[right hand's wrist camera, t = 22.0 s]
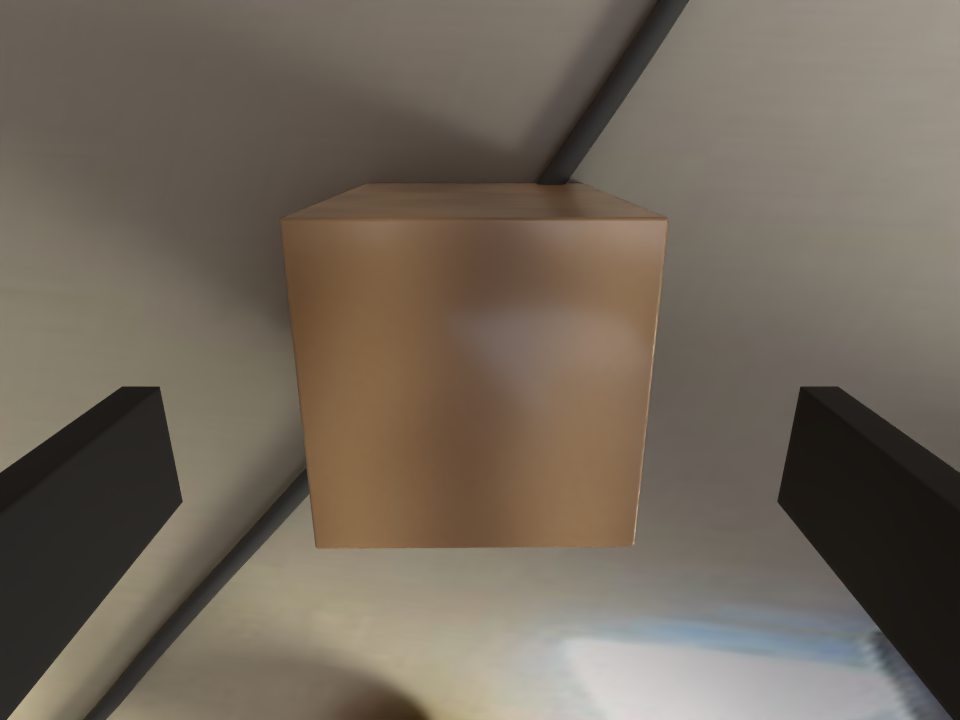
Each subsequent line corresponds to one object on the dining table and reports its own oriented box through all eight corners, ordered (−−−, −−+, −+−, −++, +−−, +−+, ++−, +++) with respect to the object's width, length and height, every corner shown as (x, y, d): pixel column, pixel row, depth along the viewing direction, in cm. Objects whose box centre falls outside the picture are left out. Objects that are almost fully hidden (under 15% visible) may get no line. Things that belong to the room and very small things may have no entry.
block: (377, 388, 28) (314, 549, 17) (364, 183, 25) (277, 217, 14) (571, 387, 28) (635, 547, 17) (583, 183, 25) (669, 217, 14)
